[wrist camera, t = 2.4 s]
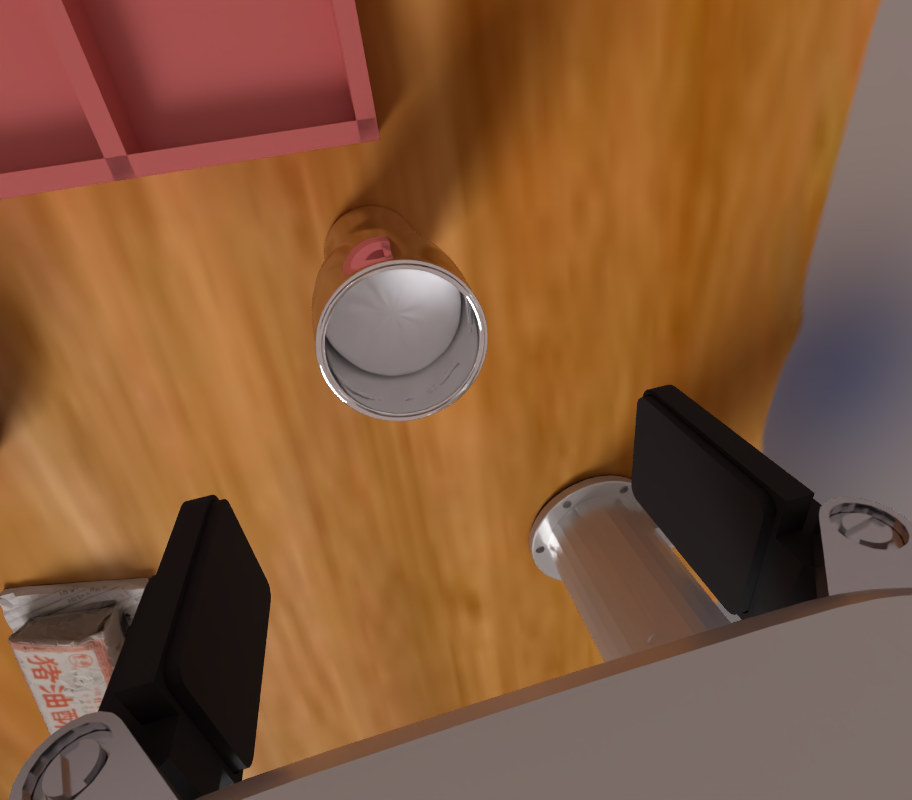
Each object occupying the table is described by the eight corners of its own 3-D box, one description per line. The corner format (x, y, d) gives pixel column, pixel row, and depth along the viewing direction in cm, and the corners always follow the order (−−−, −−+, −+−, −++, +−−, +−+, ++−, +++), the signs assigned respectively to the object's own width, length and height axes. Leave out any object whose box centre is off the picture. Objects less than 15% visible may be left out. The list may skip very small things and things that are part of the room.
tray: (312, -195, 22) (310, -241, 19) (375, 138, 28) (380, 139, 26) (-361, -150, 18) (-479, -197, 16) (-113, 213, 25) (-166, 224, 22)
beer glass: (391, 174, 29) (440, 214, 17) (446, 274, 33) (521, 369, 20) (292, 236, 30) (266, 321, 17) (357, 328, 33) (376, 455, 21)
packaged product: (170, 758, 44) (38, 780, 42) (183, 704, 48) (64, 720, 46) (131, 622, 36) (-37, 640, 33) (152, 570, 40) (3, 582, 37)
